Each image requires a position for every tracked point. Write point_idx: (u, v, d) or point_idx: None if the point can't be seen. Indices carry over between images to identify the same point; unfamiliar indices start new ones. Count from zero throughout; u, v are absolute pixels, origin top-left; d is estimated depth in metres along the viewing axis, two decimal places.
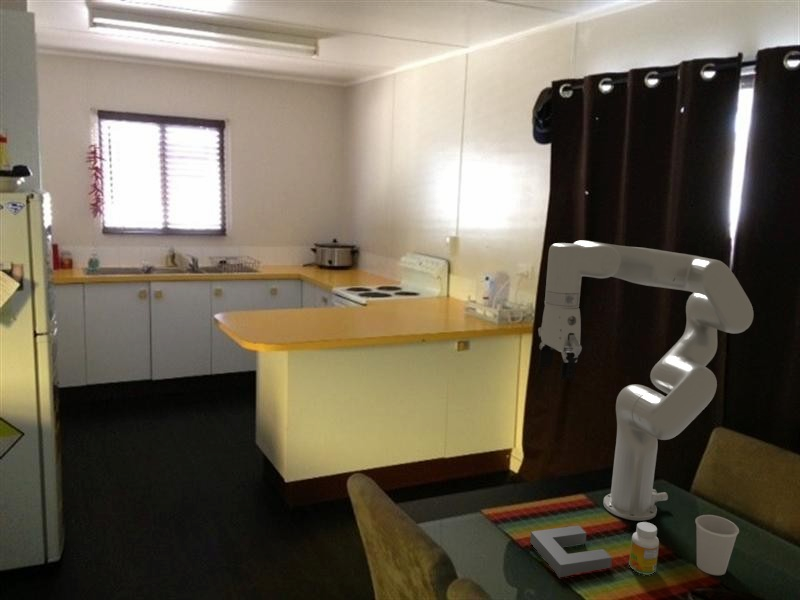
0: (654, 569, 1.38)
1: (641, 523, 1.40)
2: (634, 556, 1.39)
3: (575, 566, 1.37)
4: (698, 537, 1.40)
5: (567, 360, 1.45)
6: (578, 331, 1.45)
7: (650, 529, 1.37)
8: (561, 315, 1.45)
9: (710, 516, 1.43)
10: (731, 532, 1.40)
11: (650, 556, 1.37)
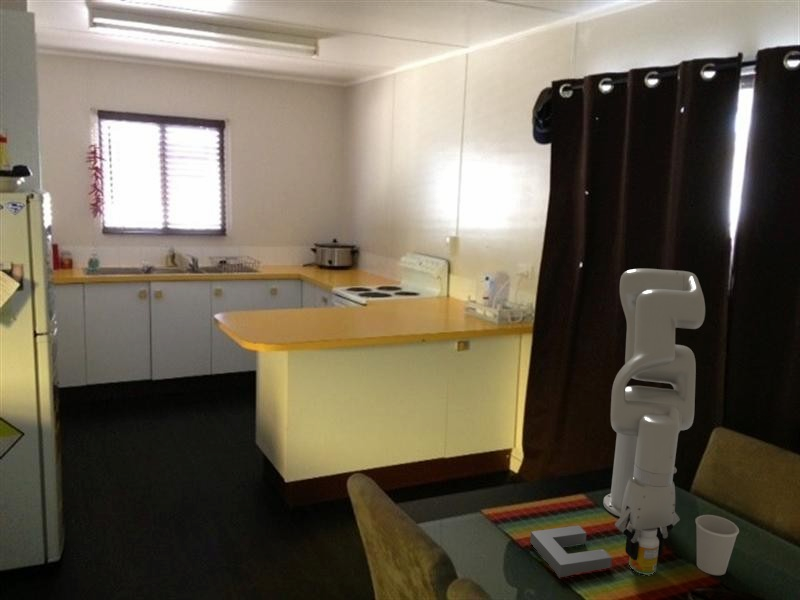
0: (654, 569, 1.38)
1: None
2: None
3: (575, 566, 1.37)
4: (698, 537, 1.40)
5: None
6: None
7: (650, 529, 1.37)
8: (673, 490, 1.36)
9: (710, 516, 1.43)
10: (731, 532, 1.40)
11: (650, 556, 1.37)
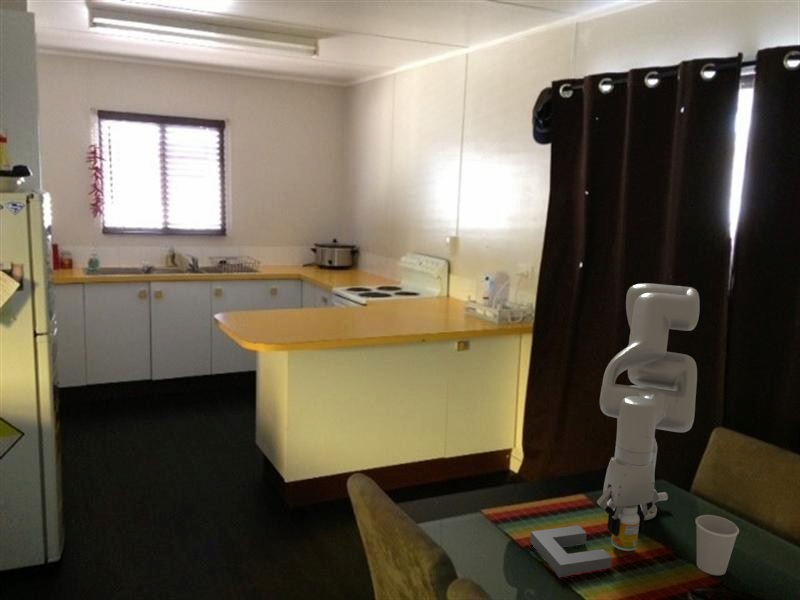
0: (635, 545, 1.45)
1: None
2: None
3: (575, 566, 1.37)
4: (698, 537, 1.40)
5: None
6: None
7: (631, 506, 1.44)
8: (653, 469, 1.43)
9: (710, 516, 1.43)
10: (731, 532, 1.40)
11: (630, 532, 1.44)
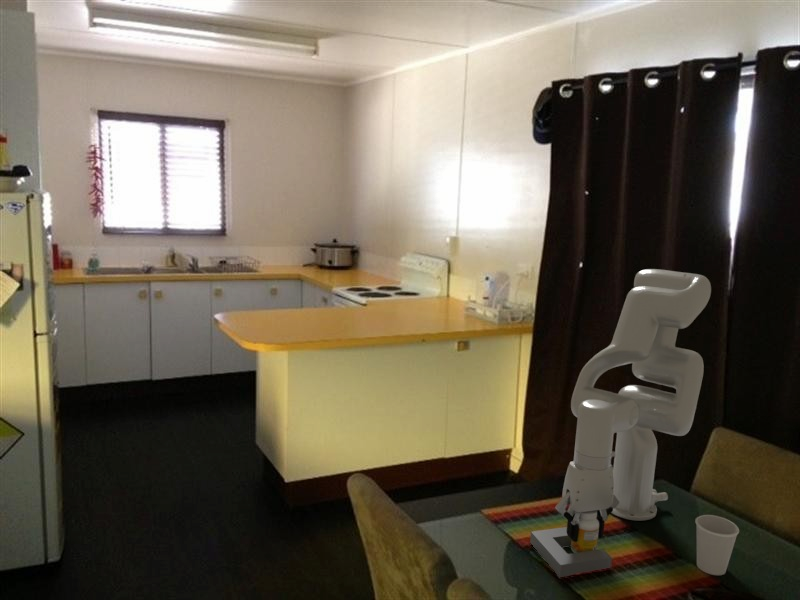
0: None
1: None
2: None
3: (575, 566, 1.37)
4: (698, 537, 1.40)
5: None
6: None
7: (590, 512, 1.41)
8: (612, 473, 1.40)
9: (710, 516, 1.43)
10: (731, 532, 1.40)
11: (589, 538, 1.41)
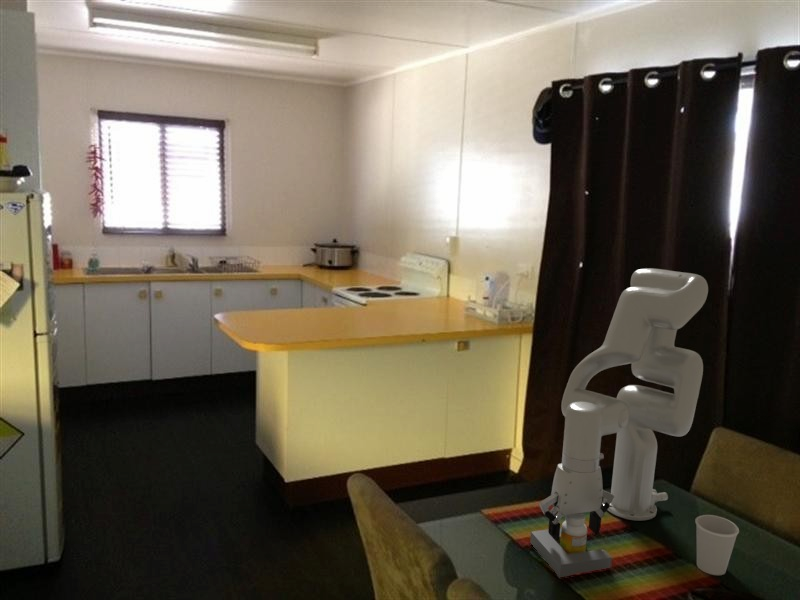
0: None
1: None
2: (563, 544, 1.42)
3: (575, 566, 1.37)
4: (698, 537, 1.40)
5: None
6: None
7: (578, 517, 1.41)
8: (600, 476, 1.39)
9: (710, 516, 1.43)
10: (731, 532, 1.40)
11: (577, 543, 1.40)
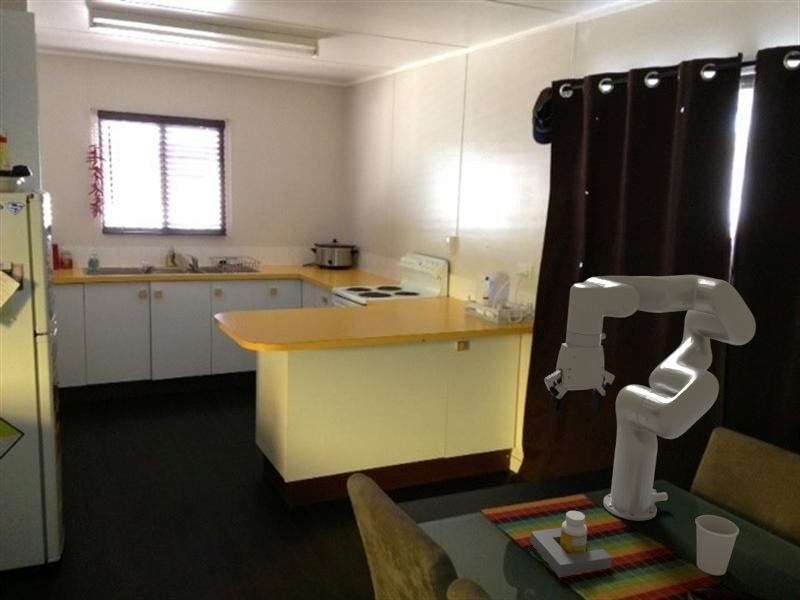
0: None
1: (570, 512, 1.43)
2: (563, 544, 1.42)
3: (575, 566, 1.37)
4: (698, 537, 1.40)
5: None
6: None
7: (578, 517, 1.41)
8: (602, 353, 1.47)
9: (710, 516, 1.43)
10: (731, 532, 1.40)
11: (577, 543, 1.40)
